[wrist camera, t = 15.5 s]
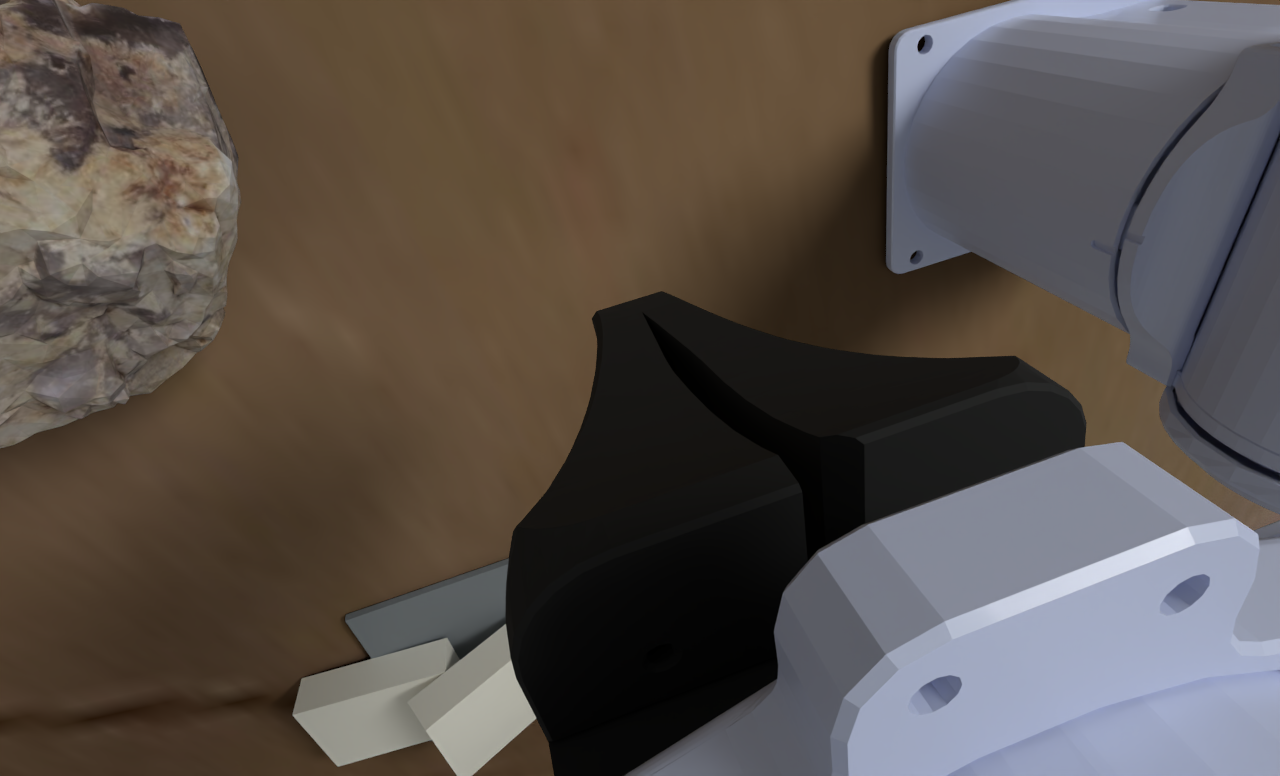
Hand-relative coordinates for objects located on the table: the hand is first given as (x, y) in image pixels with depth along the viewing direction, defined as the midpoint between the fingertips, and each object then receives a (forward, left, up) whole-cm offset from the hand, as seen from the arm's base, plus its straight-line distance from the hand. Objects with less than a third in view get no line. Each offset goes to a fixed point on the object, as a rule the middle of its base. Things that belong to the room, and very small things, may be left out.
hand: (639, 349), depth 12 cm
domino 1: (+9, +18, -8) cm, 22 cm away
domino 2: (+5, +18, -9) cm, 21 cm away
